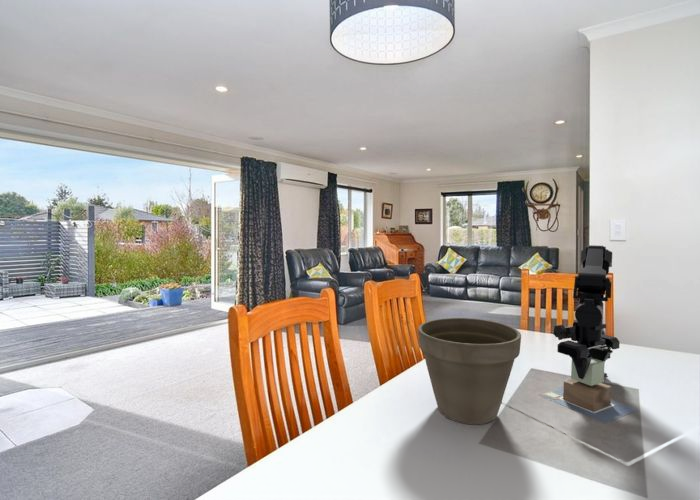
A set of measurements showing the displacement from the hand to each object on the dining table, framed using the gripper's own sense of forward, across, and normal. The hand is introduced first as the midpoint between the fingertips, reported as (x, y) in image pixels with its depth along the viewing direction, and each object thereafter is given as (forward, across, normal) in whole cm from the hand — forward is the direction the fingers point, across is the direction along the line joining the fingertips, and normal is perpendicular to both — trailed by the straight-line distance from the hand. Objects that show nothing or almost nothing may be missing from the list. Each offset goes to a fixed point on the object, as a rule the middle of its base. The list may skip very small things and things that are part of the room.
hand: (587, 376), depth 106 cm
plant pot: (+8, +32, -12) cm, 35 cm away
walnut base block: (+7, 0, 0) cm, 7 cm away
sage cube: (+1, 0, 0) cm, 1 cm away
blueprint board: (+8, 0, 0) cm, 8 cm away
